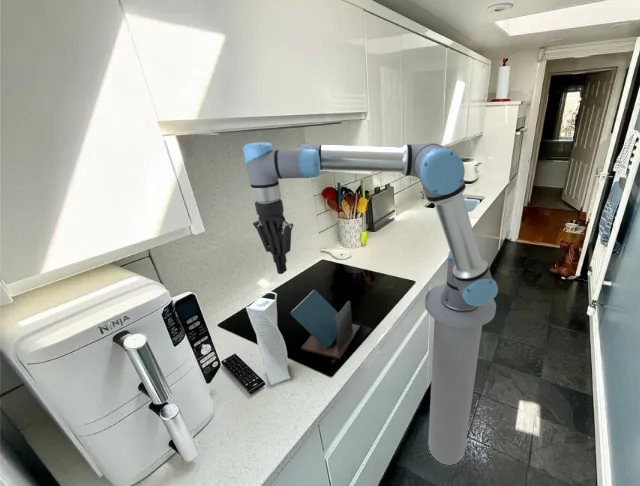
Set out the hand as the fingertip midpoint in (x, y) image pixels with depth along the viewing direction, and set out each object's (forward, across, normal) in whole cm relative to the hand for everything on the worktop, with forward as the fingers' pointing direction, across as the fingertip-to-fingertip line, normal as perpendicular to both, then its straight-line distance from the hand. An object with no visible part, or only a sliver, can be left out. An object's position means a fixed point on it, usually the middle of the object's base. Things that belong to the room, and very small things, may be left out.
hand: (282, 271), depth 99 cm
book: (+21, -17, 0) cm, 28 cm away
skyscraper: (+24, -8, +19) cm, 31 cm away
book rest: (+24, -15, 0) cm, 28 cm away
